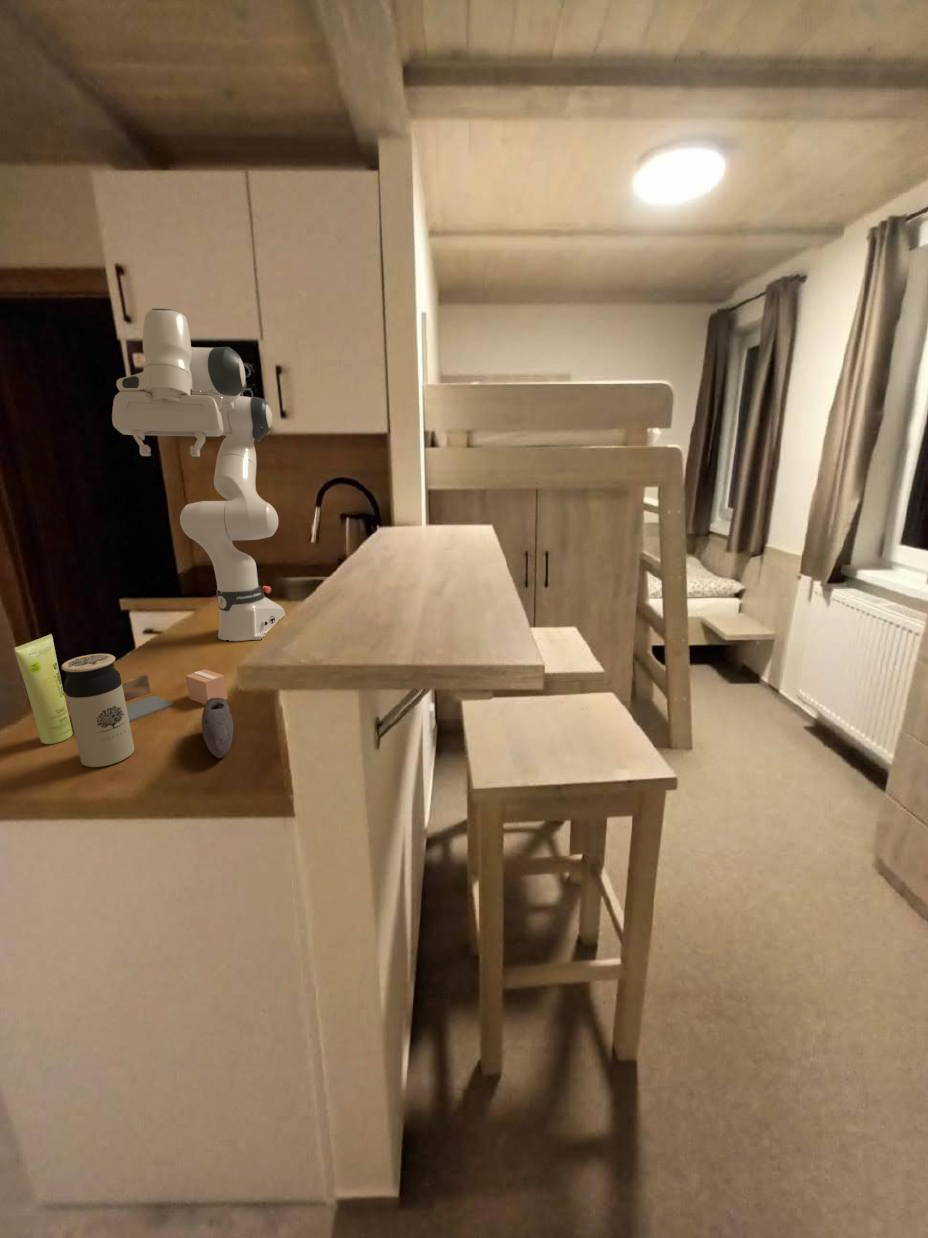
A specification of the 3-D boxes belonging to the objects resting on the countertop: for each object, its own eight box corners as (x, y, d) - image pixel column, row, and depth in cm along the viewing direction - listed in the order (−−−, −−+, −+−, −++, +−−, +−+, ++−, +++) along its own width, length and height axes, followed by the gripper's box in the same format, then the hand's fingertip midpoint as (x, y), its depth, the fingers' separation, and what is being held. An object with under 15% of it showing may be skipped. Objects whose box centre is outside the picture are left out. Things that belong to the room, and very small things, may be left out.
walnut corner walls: (147, 691, 122) (144, 674, 121) (182, 705, 116) (180, 687, 114) (75, 716, 111) (71, 698, 109) (110, 733, 104) (106, 714, 103)
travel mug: (77, 756, 96) (55, 661, 91) (127, 740, 101) (110, 649, 96) (87, 774, 90) (64, 673, 85) (140, 756, 96) (122, 661, 91)
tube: (72, 741, 101) (50, 642, 95) (38, 749, 98) (13, 647, 93) (73, 729, 105) (51, 633, 100) (41, 736, 103) (16, 638, 97)
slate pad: (153, 697, 119) (153, 695, 119) (173, 705, 116) (173, 703, 116) (105, 714, 111) (105, 712, 111) (124, 723, 108) (124, 722, 107)
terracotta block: (208, 691, 123) (204, 668, 121) (227, 698, 119) (224, 674, 117) (189, 699, 119) (185, 675, 117) (208, 706, 115) (205, 681, 114)
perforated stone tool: (235, 763, 94) (230, 726, 92) (202, 769, 92) (196, 732, 90) (234, 725, 107) (230, 692, 105) (205, 730, 105) (200, 697, 103)
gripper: (226, 397, 116) (228, 461, 116) (121, 393, 113) (123, 459, 112) (218, 383, 110) (220, 451, 110) (107, 379, 107) (109, 449, 106)
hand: (170, 455), depth 111 cm, fingers open, 8 cm apart
